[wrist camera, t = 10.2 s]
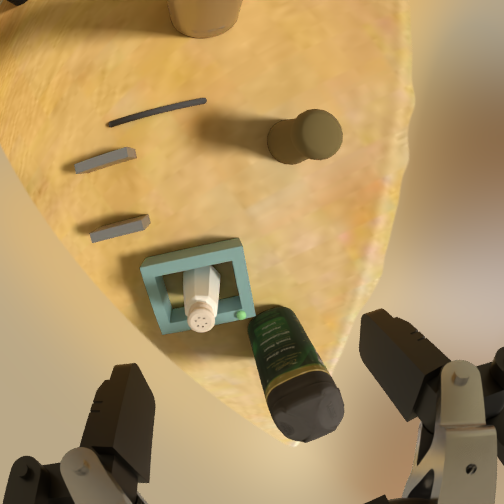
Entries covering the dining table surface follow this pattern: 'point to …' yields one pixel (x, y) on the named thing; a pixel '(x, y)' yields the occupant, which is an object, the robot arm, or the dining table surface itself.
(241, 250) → the frame
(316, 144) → the pepper shaker
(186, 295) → the pepper shaker
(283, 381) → the coffee jar
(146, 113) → the thin black rod
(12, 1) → the drinking cup
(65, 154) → the dining table surface
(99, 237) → the pair of grey blocks
